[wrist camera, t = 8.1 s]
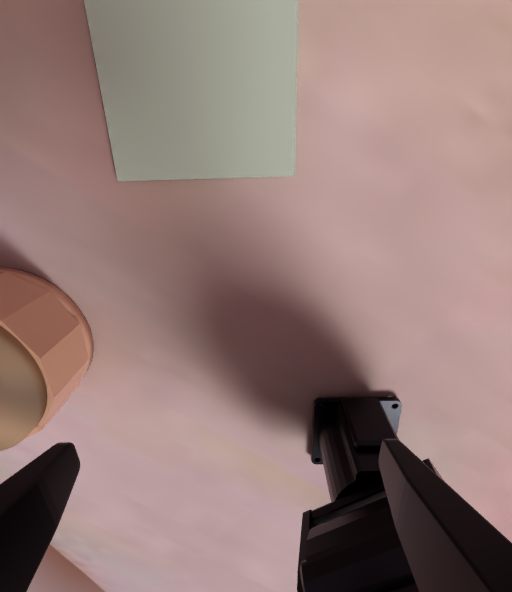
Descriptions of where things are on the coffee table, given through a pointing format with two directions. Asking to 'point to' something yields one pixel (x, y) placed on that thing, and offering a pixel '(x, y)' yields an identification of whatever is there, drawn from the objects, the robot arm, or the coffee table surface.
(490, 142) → the coffee table surface
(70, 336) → the bowl
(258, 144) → the mat
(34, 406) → the lid
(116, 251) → the coffee table surface
